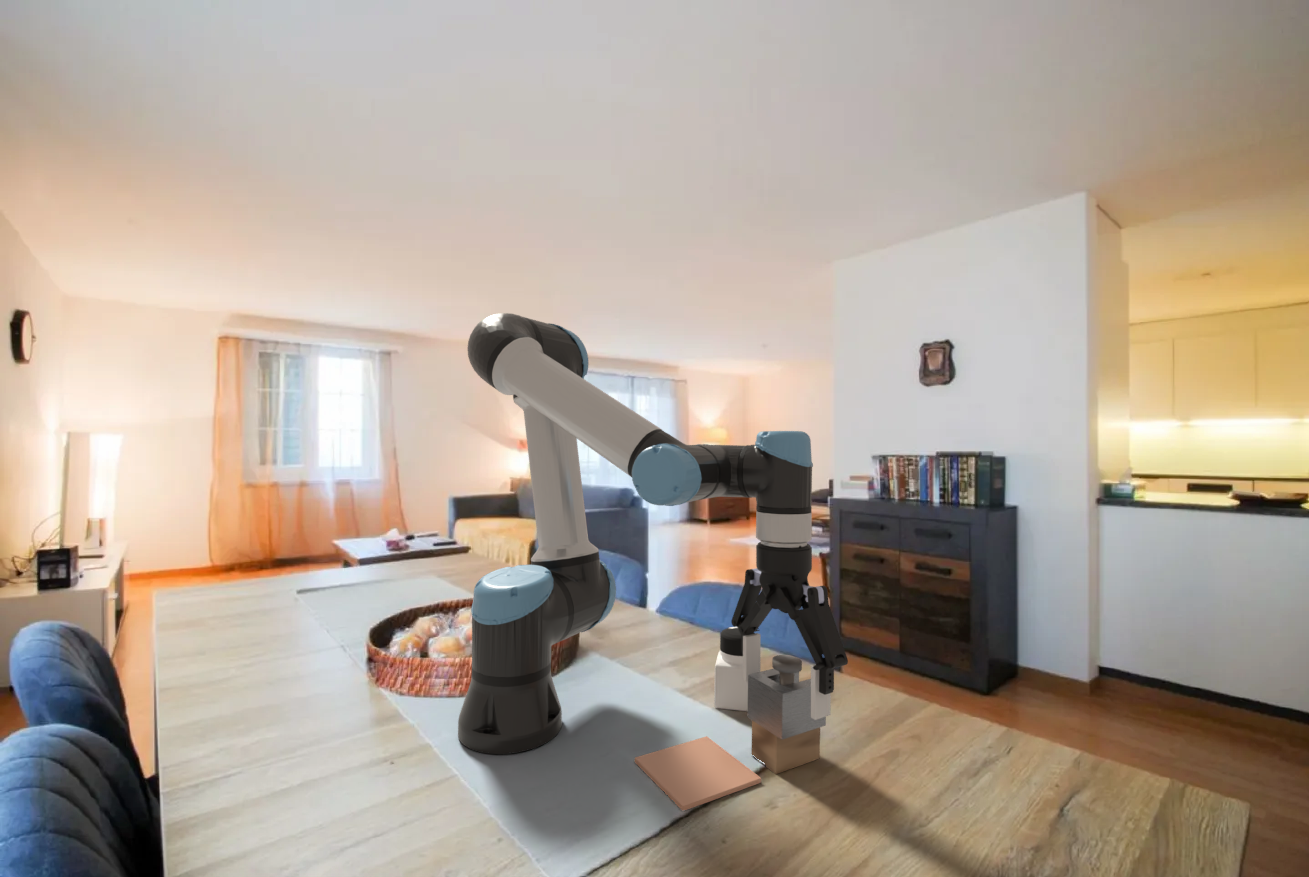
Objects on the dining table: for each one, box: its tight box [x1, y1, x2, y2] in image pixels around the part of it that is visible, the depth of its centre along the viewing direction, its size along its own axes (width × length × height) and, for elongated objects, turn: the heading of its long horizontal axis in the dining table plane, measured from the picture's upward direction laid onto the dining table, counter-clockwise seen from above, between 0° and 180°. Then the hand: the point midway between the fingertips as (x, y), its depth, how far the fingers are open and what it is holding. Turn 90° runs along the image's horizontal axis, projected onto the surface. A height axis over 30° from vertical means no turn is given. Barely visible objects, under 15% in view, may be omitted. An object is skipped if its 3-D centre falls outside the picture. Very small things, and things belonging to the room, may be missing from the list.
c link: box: [747, 668, 827, 740], centre depth 81 cm, size 8×7×6 cm
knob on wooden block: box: [750, 654, 821, 775], centre depth 81 cm, size 5×8×14 cm, turn 120°
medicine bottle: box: [713, 626, 756, 713], centre depth 99 cm, size 7×7×12 cm
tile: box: [634, 735, 762, 812], centre depth 77 cm, size 12×12×1 cm
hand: (783, 696), depth 81 cm, fingers open, 13 cm apart
